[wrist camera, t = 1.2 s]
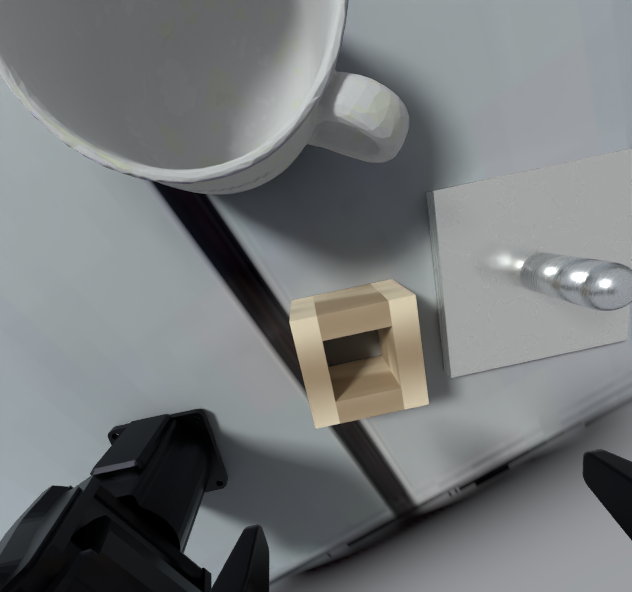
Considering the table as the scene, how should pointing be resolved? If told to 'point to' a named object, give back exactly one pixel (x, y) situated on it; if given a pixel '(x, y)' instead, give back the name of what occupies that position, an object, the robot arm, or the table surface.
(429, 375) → the table surface
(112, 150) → the teacup
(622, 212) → the stand
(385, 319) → the collar
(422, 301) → the table surface
